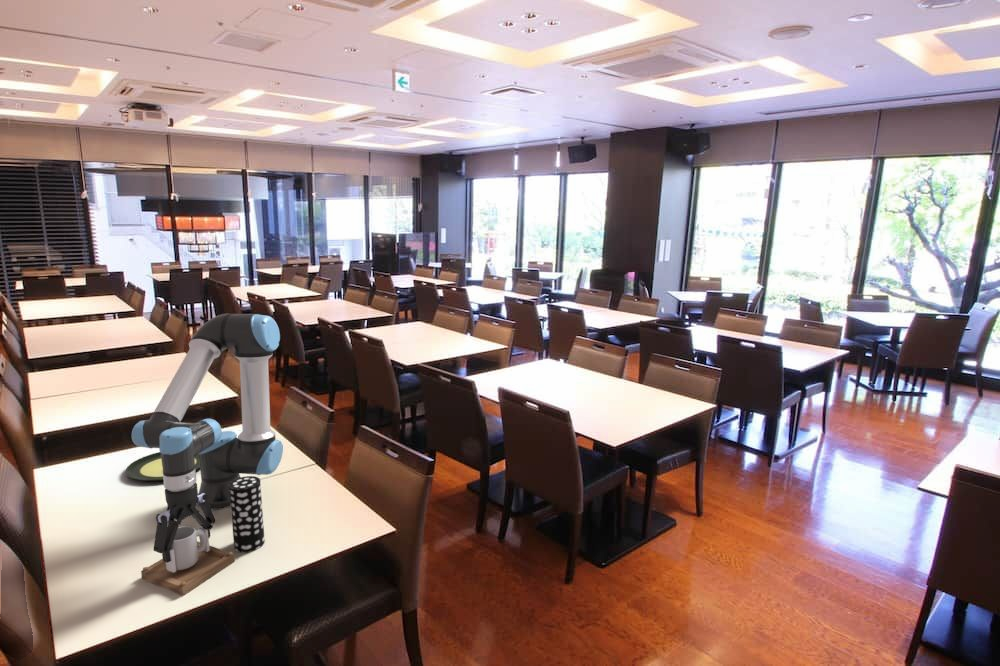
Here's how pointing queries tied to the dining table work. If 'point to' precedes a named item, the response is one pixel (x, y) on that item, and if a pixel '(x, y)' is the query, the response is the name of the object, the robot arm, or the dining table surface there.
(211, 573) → the wooden tray
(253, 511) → the white-spotted black cylinder
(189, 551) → the cup
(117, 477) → the dining table surface
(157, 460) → the plate
